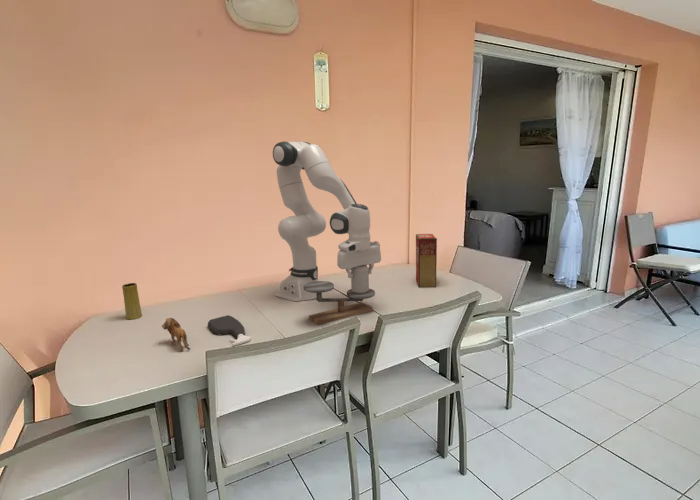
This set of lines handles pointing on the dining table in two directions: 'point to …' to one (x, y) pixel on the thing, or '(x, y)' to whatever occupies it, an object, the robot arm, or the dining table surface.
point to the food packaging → (426, 260)
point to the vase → (131, 301)
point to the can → (360, 279)
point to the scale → (341, 310)
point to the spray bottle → (229, 329)
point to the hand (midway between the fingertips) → (359, 275)
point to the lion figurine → (176, 332)
